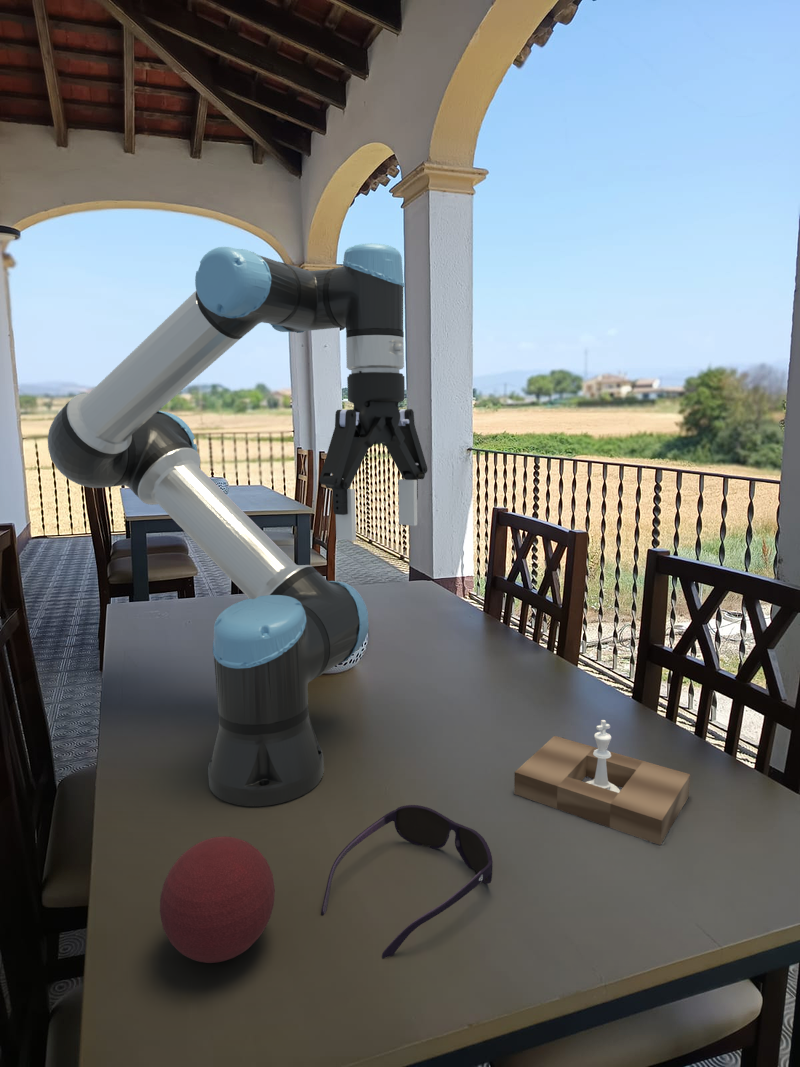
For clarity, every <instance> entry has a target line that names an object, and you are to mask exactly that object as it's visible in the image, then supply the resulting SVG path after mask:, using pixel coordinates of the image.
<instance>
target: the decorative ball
mask: <svg viewBox="0 0 800 1067" xmlns="http://www.w3.org/2000/svg"><path fill="white" fill-rule="evenodd" d="M274 881H275V880H274V874H273V872H272V869H271V867H270V865H269V862H268V860H267V859H266V857H264V855H263V854H262V853H261V851H260V850H259V849H257V847H255V846H254V845H252V844H251V843H249V842H248V841H246V840H243V839H241V838H238V837H232V836H216V837H214V836H213V837H210V838H206V839H204V840H202V841H200V842H197V843H196V844H194V845H193V846H192V847H190V848H188V849H187V850H185V851H184V852H183V853H182V854H181V855H180V856H179V858H178V859H177V860H176V861H175V862H174V864H173V865H172V866H171V868H170V870H169V872H168V873H167V875H166V877H165V880H164V883H163V885H162V888H161V892H160V900H159V915H160V920H161V924H162V929H163V932H164V934H165V935H166V937H167V939H168V940H169V942H170V944H171V945H172V946H173V947H174V949H176V950H177V951H178V952H179V953H180V954H182V955H183V956H185V957H186V958H188V959H191V960H193V961H196V962H199V963H205V964H206V963H207V964H212V963H213V964H214V963H220V962H225V961H228V960H231V959H234V958H236V957H237V956H239V955H240V956H241V954H243V953H244V952H246V951H247V950H249V948H251V947H252V946H253V944H255V943H256V941H257V940H259V938H260V936H262V934H263V932H264V931H265V929H266V927H267V926H268V924H269V921H270V919H271V917H272V913H273V910H274V904H275V897H276V888H275V887H276V886H275V882H274Z"/></svg>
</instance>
